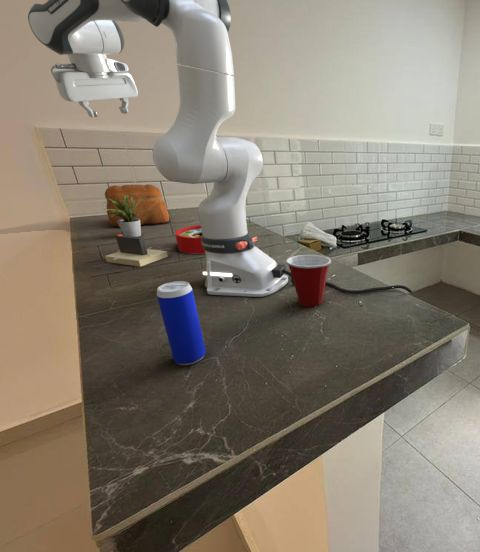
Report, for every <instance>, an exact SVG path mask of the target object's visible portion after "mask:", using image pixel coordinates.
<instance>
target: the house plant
mask: <svg viewBox="0 0 480 552" xmlns="http://www.w3.org/2000/svg"><path fill="white" fill-rule="evenodd" d="M128 197H129V196H128V195H127V196H126V197H125V196H124V200H123V203H124V206H123V204H122V203H121V202H120V201H119V200H118V199H116V198H115V200H116V201H117V202H115V201H113V200H111V199H109V200H111V201H112V202H113V203H114V204H115V207H116V206H117V207H118V209H119V210H117V209H116V208H115V209H107V208H106V209H105V208H103V209H102V210H104V211H107V210H110V211H112V212H115V213H116V214H113V213H112V216H111V215H109V216H111V217H113V216H115V215H116V216H117V215H118V217H119V216H120V218H121V217H122V218H123V219H122V218H121V219H122V220H118V221H117V222H118V224H119V226H120V227H119V228H120V231H121V232H122V235H126V236H134V237H141V236H142V229H141V226H142V225H140V219H136V218H135V216H137V215H134V209H135V207H136V206H137V204H138V203H139V202H140V201H139V202H138V203H137V204H136V205H135V207H134V204H135V202H136V201H135V199H134V202H133V203H132V197H131V201H130V207H128ZM107 199H108V198H107ZM107 199H106V200H107ZM104 204H107V201H104ZM108 205H109V204H108ZM111 205H112V204H111ZM111 205H110V206H111ZM113 206H114V205H113ZM113 206H112V207H113ZM113 208H114V207H113ZM141 210H146V209H141ZM139 211H140V210H139ZM137 212H138V211H137ZM137 212H136V213H137ZM110 213H111V212H110ZM118 213H119V214H118ZM120 213H122V214H123V215H124V216H123V215H122V214H120ZM136 213H135V214H136ZM109 216H108V215H107V217H109Z"/></svg>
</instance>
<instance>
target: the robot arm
mask: <svg viewBox="0 0 480 552" xmlns="http://www.w3.org/2000/svg"><path fill="white" fill-rule="evenodd" d="M231 13H232V12H231V8H230V5H229V3H228V0H47V1H46V2H44V3H34V4H33V5H32V6H31V7H30V9H29V11H28V14H27V20H28V24H29V27H30V30H31V32H32V34H33V35H34V36H35V38H36V39H37V40H38V41H39V42H40V43H41V44H42V45H44V46H45V47H46V48H48V49H49V50H51V51H52V52H54V53H56V54H58V55H62V56H63V55H67V57H68V60H69V63H54V65H53V66H52V67H50V72H51V75H52V77H53V79H54V80H55V83H56V86H57V87H56V88H57V90H58V93H59V96H60V97H61V98H62V99H63V100H64V101H66V102H70V103H78V104H79V105H80V107H82V108H83V109H84V110H85V111H86V113H87V115H88V116H89V117H90V118H98V117H99V115H98V113H97V111H96V110H94V109H92V108H91V107H90V106H89V105H90V103H89V102H91V101H103V100H116V99H119V101H121V105H120V106H119V107H118V109H119V111H120V113H121V114H123V115H125V114H129V103H130V101H129V98H137V97H138V95H139V91H138V88H137V87H138V86H137V85H136V82H135V80H134V77H133V76H132V74H131V73H129V66H128V64H127V63H124V62H121V61H118V60H115V59H113V58H108V56H107V55H117V54H120V53H122V51H124V48H125V38H124V34H123V31H122V29H121V28H120V26H119V24H118V23H117V22H130V23H142V22H146V21H147V22H148V23H150V24H151V25H152V26H154V27H156V28H158V27H159V26H160V25H163V26H165V27H167V28H168V29H169V30H170V32H171V33H172V35H173V37H174V42H175V57H176V58H175V59H176V64H177V65H176V67H177V77H178V92H179V103H178V104H179V106H178V111H177V115H176V117H175V120H174V122H173V123H172V125H171V127H170V128H169V130H168V131H166V133H164V134H163V135H162V136H161V137H159V138H158V139H157V140H156V141H155V143H154V144H153V148H152V161H153V163H154V166H155V168H156V169H157V171H158V172H159V173H160V174H161V176H163V177H164V178H165V179H166V180H168V181H169V182H173V183H181V184H189V185H196V184H198V185H199V184H210V183H211V184H212V183H213V187H212V190H211V192H210V193H209V194H208V196H207V197H205V198H204V199H202V200H201V201H200V203H199V204H198V208H197V213H198V214H197V215H198V219H199V225H201V230H202V236H201V240H202V246H203V249H204V250H205V254H204V255H205V271H202V275H203V276H205V282H204V287H205V288H206V294H207V295H211V296H229V297H248V298H249V297H250V298H251V297H253V298H262V297H266V296H269V295H272V294H274V293H276V292H278V291H279V290H281V289H282V288H283V287H285V286H286V285H287V283H288V282H289V277H290V282H291V284H292V285H294V281H293V277H292V274H291V271H289V270H287V266H286V265H287V264H282V263H281V264H280V263H279V264H278V263H277V262H276V260H275V259H274V258H272V257H270V256H269V255H268V254H267V253H265V252H264V251H262V250H261V249H260V248H259V247H257V246H256V243H255V242H256V241H258V239H257V238H258V236H254V237H252V235H251V234H250V232H249V231H248V224H247V223H248V222H247V213H246V203H247V196H248V193H249V190H250V187H251V186H252V183H253V182H254V181H255V179H256V178H257V177H258V176H259V175H260V174H261V172H262V170H263V166H264V158H263V154H262V152H261V150H260V148H259V147H258V146H257V144H256V143H254V142H253V141H251V140H248V139H245V138H241V137H237V136H221V135H219V136H218V135H217V134H218V130H219V128H220V126H221V125H222V124H223V123H224V122H226V121H227V120H229V119H230V118H232V117H233V116H234V114H235V112H236V109H237V108H236V89H235V87H236V86H235V71H234V60H233V52H232V47H231V42H230V37H229V31H230V28H231V25H232V14H231ZM116 21H117V22H116ZM325 286H328V287H331V288H332V289H333V288H334V289H335V290H337V291H339V292H341V293H346V294H353V295H354V294H365V293H370V292H377V291H378V292H379V291H389V290H393V289H402V290H405V291H407V292H408V293H411V294H412V293H413V290H412V289H411V288H409V287H408V286H405V285H402V284H395V285H390V286H389V285H387V286H379V287H378V286H377V287H370V288H364V289H346V288H342V287H340V286H338V285H336V284H335V283H332V282H329V281H326V283H325ZM392 287H394V288H392Z"/></svg>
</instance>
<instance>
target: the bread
mask: <svg viewBox="0 0 480 552" xmlns="http://www.w3.org/2000/svg"><path fill="white" fill-rule="evenodd" d="M127 195H128V196H129V197H128V207H130V201H131V197H132V203H133V202H134V199H135V201H136V202H135V204H134V207H135V205H136V204H137V203H138V202H139V201H140V202H139V203H138V204H137V206H136V207H135V209H134V215H137V216H135V218H136V219H140V226H143V225H158V224H166V223H169V221H170V215H169V212H168V211H169V210H168V208H167V207H168V206H167V204H166V202H165V200H164V199H163V197H162V191H161V189H159V187H157V186H155V185H153V184H149V183H148V184H124V185H110V186H109V187H107V188H106V189H105V191H104V199H106V209H115V208H116V209H117V210H119V209H118V207H117V206H116V207H115V204H114V203H113V202H112V201H111V200H113V201H115V202H117V201H116V200H115V198H116V199H118V200H119V201H120V202H121V203H122V204H123V206H124V203H123V200H124V196H125V197H126V196H127ZM107 198H108V199H107ZM109 199H111V200H109ZM108 204H109V205H108ZM111 204H112V205H111ZM110 205H111V206H110ZM113 205H114V206H113ZM112 206H113V207H114V208H113V207H112ZM141 209H146V210H141ZM139 210H140V211H139ZM137 211H138V212H137ZM110 212H111V213H110ZM136 212H137V213H136ZM112 213H113V214H116V213H115V212H112V211H110V210H106V214H107V217H108V216H109V215H111V216H112ZM135 213H136V214H135ZM118 214H119V213H118ZM120 214H122V213H120ZM122 215H123V214H122ZM111 216H109V217H108V218H107V219H108V221H109V224H110V225H111V226H112V227H116V228H120V226H119V224H118V222H117V221H118V220H122V219H123V218H122V217H121V218H122V219H121V218H120V216H119V217H118V215H117V216H116V215H115V216H113V217H111ZM123 216H124V215H123Z"/></svg>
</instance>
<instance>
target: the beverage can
mask: <svg viewBox="0 0 480 552" xmlns="http://www.w3.org/2000/svg"><path fill="white" fill-rule="evenodd" d="M156 298H157V302H158V306H159V309H160V313H161V317H162V321H163V325H164V329H165V332H166V336H167V339H168V344H169V348H170V351H171V355H172V358H173V362H174V363H176V364H177V365H179V366H191V365H194V364H196V363H198V362H201V360H202V359H203V358H204V357H205V356H206V354H207V350H206V346H205V341H204V336H203V333H202V332H203V331H202V328H201V322H200V319H199V314H198V309H197V305H196V300H195V295H194V290H193V288H192V286H191V284H190V283H189V282H188V281H186V280H185V281H184V280H179V281H178V280H176V281H175V280H174V281H170V282H166V283H163V284H161V285H159V286H158V287H157V289H156Z"/></svg>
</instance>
